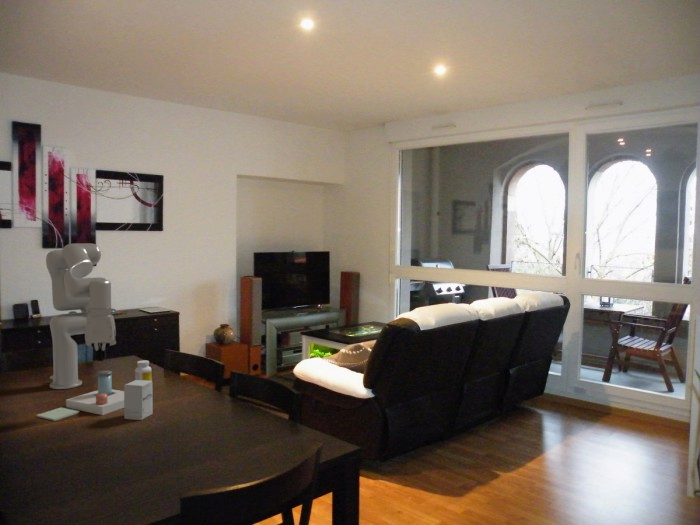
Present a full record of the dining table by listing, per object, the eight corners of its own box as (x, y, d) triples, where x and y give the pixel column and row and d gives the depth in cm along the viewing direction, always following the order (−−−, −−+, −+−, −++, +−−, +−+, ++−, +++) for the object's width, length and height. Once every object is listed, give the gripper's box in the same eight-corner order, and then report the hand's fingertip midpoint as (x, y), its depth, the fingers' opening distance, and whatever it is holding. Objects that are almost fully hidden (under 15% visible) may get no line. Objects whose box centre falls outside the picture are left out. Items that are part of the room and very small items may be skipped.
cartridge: (94, 402, 217) (93, 372, 216) (106, 398, 222) (105, 369, 221) (104, 404, 214) (103, 374, 213) (115, 400, 219) (115, 371, 219)
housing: (66, 407, 210) (66, 399, 210) (105, 395, 226) (105, 387, 226) (102, 415, 201) (102, 407, 201) (140, 401, 218) (140, 394, 217)
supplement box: (142, 420, 196) (141, 385, 195) (123, 419, 197) (123, 384, 197) (153, 413, 203) (153, 380, 202) (135, 412, 205) (135, 379, 204)
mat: (36, 416, 199) (36, 415, 199) (61, 408, 208) (61, 407, 208) (54, 420, 195) (54, 419, 195) (79, 412, 204) (79, 411, 204)
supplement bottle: (154, 389, 235) (154, 359, 234) (147, 393, 228) (147, 363, 228) (139, 388, 235) (139, 359, 235) (132, 393, 229) (131, 363, 228)
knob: (93, 410, 205) (93, 395, 205) (102, 407, 208) (102, 392, 208) (101, 411, 203) (100, 396, 203) (110, 408, 207) (109, 394, 206)
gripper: (76, 314, 201) (76, 363, 202) (118, 313, 203) (119, 362, 204) (82, 311, 208) (83, 358, 209) (123, 310, 211) (124, 357, 212)
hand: (101, 360), depth 207 cm, fingers closed
